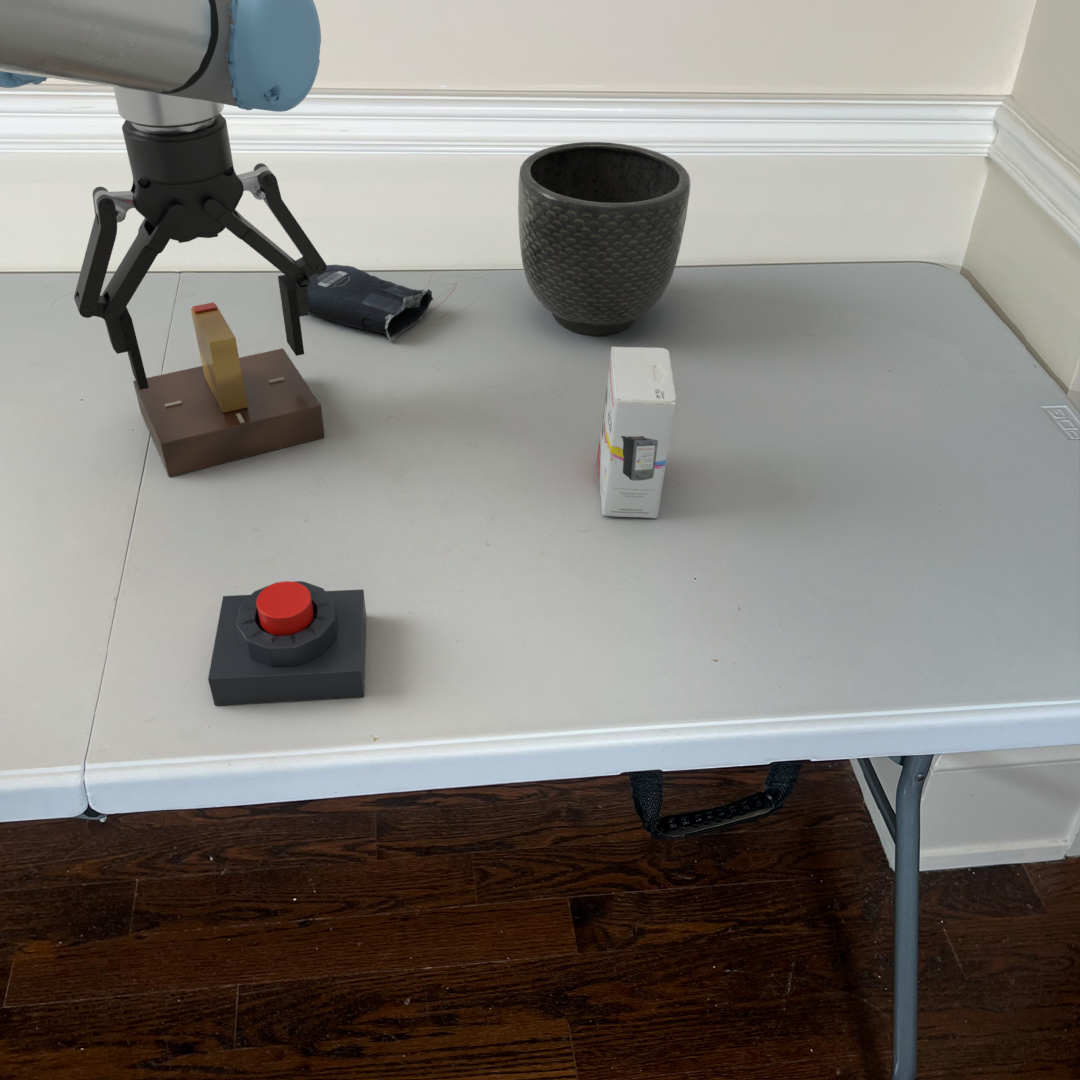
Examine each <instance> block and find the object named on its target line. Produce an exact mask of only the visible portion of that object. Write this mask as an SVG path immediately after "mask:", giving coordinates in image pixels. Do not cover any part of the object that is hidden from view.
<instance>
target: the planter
mask: <svg viewBox="0 0 1080 1080" xmlns="http://www.w3.org/2000/svg"><path fill="white" fill-rule="evenodd" d="M517 183H518V185H517V186H518V187H517V191H518V195H517V196H518V197H517V198H518V200H517V219H518V236H519V247H520V256H521V263H522V266H523V271H524V276H525V278H526V281H527V284H528V286H529V288H530V290H531V292H532V294H533V295H534V297H535V298H536V299H537V300H538V302H539V303H540V305H542V306H543V307H544V308H545V309H546V310H547V311H548V312H550V313H551V315H552V316H553V318H554V320H555V321H556V322H557V323H558V325H560V326H562V327H563V328H565V329H567V330H568V331H571V332H573V333H577V334H581V335H586V336H609V335H614V334H619V333H621V332H623V331H625V330H627V329H628V328H630V327H631V326H632V325H633V324H634V323H635V321H636V320H637V319H638V318H640V317H641V316H643V315H644V314H646V313H647V312H649V311H650V310H651V309H652V308H653V307H654V306H655V305H656V304H657V303H658V302H659V301H660V299H661V298H662V296H663V295H664V293H665V292H666V290H667V288H668V287H669V284H670V282H671V279H672V277H673V274H674V272H675V268H676V265H677V261H678V257H679V253H680V250H681V245H682V241H683V236H684V230H685V226H686V221H687V215H688V213H687V212H688V205H689V200H690V193H691V178H690V174H689V173H688V170H686V168H685V167H684V166H683V165H682V164H681V163H679V162H678V161H677V160H676V159H673V158H671V157H670V156H668V155H665V154H663V153H661V152H658V151H655V150H653V149H649V148H645V147H640V146H637V145H630V144H626V143H616V142H606V141H605V142H603V141H601V142H600V141H583V142H570V143H564V144H559V145H552V146H550V147H546V148H543V149H540V150H539V151H536V152H534V153H532V154H531V155H529V156H528V157H527V158H526V159H525V160H524V161H523V162H522V163H521V165H520V167H519V173H518V182H517Z"/></svg>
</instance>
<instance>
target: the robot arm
mask: <svg viewBox="0 0 1080 1080" xmlns="http://www.w3.org/2000/svg"><path fill="white" fill-rule="evenodd" d="M316 6H317V5H316V4H315V1H314V0H0V88H2V89H3V88H4V89H14V88H20V87H21V86H23V87H24V86H26V85H29V84H33V85H40V84H42V83H43V82H46V81H47V79H54V80H60V81H61V80H62V81H67V82H68V81H69V82H77V83H84V84H91V85H97V86H106V87H113V92H114V97H115V102H116V106H117V111H118V115H119V116H120V117H121V118H122V119H124V123H123V124H122V125H121V130H122V135H123V139H124V144H125V148H126V151H127V152H126V153H127V157H128V162H129V165H130V170H131V176H132V185H131V187H130V190H122V191H118V190H117V191H109V190H108V189H107V188H106V187H104V186H97V187H95V188H94V189H93V190H92V201H93V202H92V203H93V210H94V219H93V223H92V227H91V230H90V234H89V239H88V242H87V245H86V249H85V252H84V253H85V254H84V257H83V260H82V265H81V268H80V272H79V276H78V280H77V284H76V288H75V292H74V295H73V300H74V303H75V306H76V308H77V311H78V313H79V315H80V316H81V317H82V318H84V319H85V318H86V319H90V318H92V317H99V318H101V319H102V320H104V323H105V326H106V331H107V335H108V338H109V342H110V344H111V347H112V349H113V350H114V352H115V353H116V355H119V354H123V353H127V355H128V360H129V363H130V368H131V371H132V375H133V378H134V381H135V380H136V382H137V385H138V387H139V389H140V390H142V389H146V388H149V386H148V382H147V378H148V377H147V374H146V371H145V366H144V363H143V358H142V354H141V351H140V346H139V343H138V338H137V334H136V331H135V327H134V322H133V318H132V315H131V314H130V312H129V310H128V307H127V306H128V305H129V303H130V301H131V300H132V298H133V296H134V294H135V293H136V291H137V290H138V289H139V287H140V284H141V283H142V281H143V280H144V278H145V276H146V275H147V273H148V272H149V270H150V268H151V266H152V265H153V263H154V261H156V259H157V257H158V255H159V254H162V253H163V251H164V250H165V248H166V246H167V245H168V244H169V242H170V240H173V241H177V242H178V243H179V244H182V243H187V242H188V243H189V242H191V241H194V240H196V239H198V238H203V239H205V238H206V239H212V238H217V237H219V234H220V233H222V232H224V230H225V229H226V230H227V231H229V232H230V233H232V234H233V235H234V236H235V237H237V239H239V240H241V241H242V242H244V243H245V244H247V246H248V247H250V248H252V249H253V250H254V251H255V252H256V253H257V254H259V255H260V256H261V257H262V258H264V259H265V260H267V262H268V263H270V264H271V265H272V266H273V267H274V268H276V269H277V270H278V271H280V272H281V273H283V274H281V275H277V281H278V289H279V295H280V301H281V309H282V316H283V323H284V330H285V339H286V343H287V344H288V346H289V347H290V349H291V350H292V352H293V354H294V355H295V356H296V357H298V356H302V355H305V348H304V342H303V333H302V326H301V318H300V317H304V316H305V317H306V316H309V314H310V313H309V310H310V308H309V300H308V291H307V287H308V286H309V284H310V279H309V278H310V277H311V276H312V275H314V274H316V273H317V274H322V273H324V272H325V271H326V268H327V266H326V265H327V263H326V262H325V260H324V259H323V258H322V256H321V254H320V253H319V251H318V250H317V249H316V247H315V246H314V243H312V241H311V240H310V238H309V237H308V236H307V233H305V231H304V229H303V228H302V227H301V225H300V223H299V222H298V221H297V219H296V218H295V216H294V215H293V214H292V212H291V211H290V209H289V208H288V206H287V205H286V203H285V202H284V201H283V199H282V195H281V191H280V187H279V183H278V179H277V177H276V175H275V174H274V173H273V172H272V171H271V170H270V168H269V166H267V165H266V164H265V163H257V164H256V165H255V166H254V167H253V170H251V171H247V172H243V173H239V174H237V172H236V171H235V167H234V161H233V156H232V148H231V142H230V137H229V129H228V124H227V119H226V118H225V116H223V115H222V114H221V113H222V112H223V110H224V109H225V106H224V105H227V106H230V107H231V106H233V107H237V108H238V109H241V110H246V111H252V110H261V111H269V112H276V113H277V112H278V113H281V112H288V111H291V110H292V109H294V108H296V107H297V106H300V104H301V103H302V102H303V101H304V100H305V99H306V98H307V96H308V95H309V93H310V92H311V90H312V88H313V86H314V83H315V80H316V78H317V75H318V72H319V67H320V63H321V62H320V61H321V59H320V55H321V54H320V53H321V44H322V30H321V23H320V18H319V13H318V9H317V7H316ZM246 191H247V192H250V194H251V195H252V196H253V197H254V199H256V200H258V201H261V200H262V201H264V204H265V205H266V207H268V209H269V210H270V212H271V213H272V214H273V216H274V218H275V219H276V221H277V222H278V223H279V225H280V226H281V228H282V229H283V231H284V232H285V233H286V235H287V236H288V238H289V239H290V241H291V242H292V243H293V244H294V247H296V249H297V250H298V252H299V253H300V254H301V255H302V257H300V258H297V259H294V258H293V257H292V256H290V255H289V254H288V253H287V252H286V251H284V250H283V249H282V248H281V247H280V246H279V245H277V244H276V243H275V242H274V241H273V240H271V238H269V237H268V236H266V234H265V233H263V232H262V231H261V230H260V229H258V228H257V227H256V226H255V225H253V224H252V223H251V222H250V221H249V220H247V219H246V218H245V217H244V216H243V215H242V214H241V213H240V212H238V210H237V209H236V208H237V207H238V205H239V203H240V201H241V199H242V197H243V195H244V192H246ZM131 209H135V210H136V212H138V213H139V214H140V215H141V216H142V217H143V218H144V219H143V221H142V222H141V223H140V225H139V228H138V231H137V235H136V236H135V239H134V240H133V241H132V244H131V245H130V246H129V249H128V251H127V252H126V253H125V255H124V256H123V258H122V260H121V262H120V263H119V265H118V267H117V269H116V270H115V272H114V273H113V275H112V276H111V279H109V282H108V284H107V285H106V287H105V289H104V290H103V292H102V289H103V286H104V282H105V278H106V275H107V271H108V267H109V264H110V261H111V257H112V253H113V250H114V247H115V242H116V239H117V235H118V223H122V222H124V221H125V219H126V217H127V213H128V211H129V210H131Z"/></svg>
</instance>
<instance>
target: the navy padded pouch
mask: <svg viewBox="0 0 1080 1080" xmlns="http://www.w3.org/2000/svg"><path fill="white" fill-rule="evenodd" d="M326 266H327V268H326V271H325V272H324V273H322V274H317V273H316V274H314V275H312V276H311V277H310V278H309V279H310V284H309V286H308V287H307V291H308V300H309V308H310V310H309V314H310V315H313V316H314V317H315V318H320V319H323V320H326V321H331V322H335V323H338V324H340V325H345V326H348V327H352V328H356V329H360V330H367V331H369V332H375V333H380V334H384V335H385V336H386V337H387V339H388V342H389V343H392V342H394V341H395V340H396V339H397V338H398V337H399V336H400V335H401V334H403V333H404V332H405V331H407V330H409V329H410V328H411V327H413V326H414V325H416V324H417V323H419V322H420V321H421V320H422V319H423V318H424V316H425V313H426V311H427V310H428V308H429V307H430V304H431V302H433V301H434V298H433V293H432V290H430V289H429V288H424V289H413V288H409V287H407V286H404V285H401V284H399V285H398V284H396V283H394V282H392V281H389V280H384V279H382V278H379V277H377V276H375V275H371V274H370V273H368V272H366V271H364V270H362V269H359V268H357V267H355V266H351V265H341V264H326Z"/></svg>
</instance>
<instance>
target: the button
mask: <svg viewBox="0 0 1080 1080" xmlns="http://www.w3.org/2000/svg"><path fill="white" fill-rule="evenodd" d="M274 583H275V584H274ZM274 583H272V585H271V584H269V585H270V586H269V585H267V586H268V587H267V586H265V587H266V588H265V589H264V590H263V591H262V592H261V593H260V594H259V596H258V598H257V603H256V604H257V609H258V614H259V619H260V624H261V626H262V628H263V629H264V630H265V631H266V632H268V633H270V634H273V635H276V636H288V635H294V634H296V633H298V632H300V631H303V630H305V629H306V628H307V627H308V626H309V625H310V624H311V622H312V620H313V616H314V613H313V606H312V600H311V594H310V592H309V590H308V589H307V588H306V587H305V586H304V585H302V584H300V583H297V582H294V581H288V580H286V581H285V580H284V581H279V582H277V583H276V582H274Z"/></svg>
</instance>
